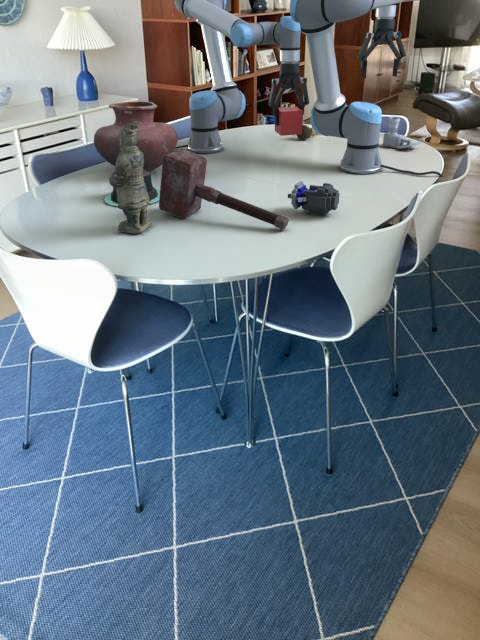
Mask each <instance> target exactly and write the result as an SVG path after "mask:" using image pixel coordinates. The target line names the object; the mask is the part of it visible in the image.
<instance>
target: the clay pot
mask: <svg viewBox="0 0 480 640" xmlns="http://www.w3.org/2000/svg"><path fill="white" fill-rule="evenodd" d="M157 107H158V105H157V104H155V103H154V102H152V101H145V100H141V101H140V100H138V101H120V102H113V103H109V104H108V108H110V109H112V110H113V113H114V116H115V119H114V122H113V124H110V125H105V126H101V127H98V128H97V130H96V131H95V132H94V135H93V145H94V148H95V149H96V152H97V153H98V154H99V155H100V156H101V157H102V158H103V159H104V160H105V161H106V162H107V163H108V164H110V165H111V166H113V167H115V164H116V160H117V156H118V154H119V151H120V147H119V140H118V138H119V133H120V130H121V129H123V128H124V127H125V126H126V125H127V124H128V123H131V122H133V121H137V122H138V123H139V127H138V130H137V131H136V138H137V143H136V146H137V147H138V149H139V150H141V151H142V153H143V156H144V166H143V169H144V170H146V171H147V172H151V171H153V170H157V169H158V168H160V167H161V166H163V158H164V156H165V155H167V154H170V153H172V152H174V151H175V150H176V149H175V147H177V145H178V141H179V140H178V139H179V138H178V133H177V131H176V129H175V128H174V127H173V125H171V124H169V123H166V122H156V121H155V122H154V114H155V110H156V109H157Z"/></svg>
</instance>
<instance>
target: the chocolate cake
mask: <svg viewBox="0 0 480 640" xmlns="http://www.w3.org/2000/svg"><path fill="white" fill-rule="evenodd" d="M113 175H114V171H112V173H111V176H113ZM143 178H144V182H145V184H146V188H147V192H148V195H149V197H150V204H154V203H157V202H159V198H160V188H156V187H154V185H153V182H152V174H151V172H150V171H148V172H147V171H146V170H144V169H143ZM103 200H104V202H105V203H106V204H108V205H109V206H115V207H118V202H117V192H116V189H115V188H114V187H112V191H111V193H108V194H107V195H106V196H104V198H103ZM150 204H149V205H150Z"/></svg>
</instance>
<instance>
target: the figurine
mask: <svg viewBox="0 0 480 640" xmlns="http://www.w3.org/2000/svg"><path fill="white" fill-rule="evenodd" d="M305 123H306V122H305V120H302V134H299V135H296V137H297V139H298V140H302V141H304V140H308V139H310V138H311V137H312V136H313V135H312V134H317V133H316V132H315V131H314V130H313V128H312V127H310V126H308V125H305Z"/></svg>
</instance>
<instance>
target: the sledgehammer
mask: <svg viewBox="0 0 480 640" xmlns="http://www.w3.org/2000/svg"><path fill="white" fill-rule="evenodd" d="M207 164H208V159H207V158H206V157H205V156H203V155H201V154H199V153H193V152H190V151H188V149H187V150H186V149H184V148H178V149H176V150H174V152H172V153H170V154H167V155H165V156H164V158H163V165H161V166H162V167H161V176H160V187H159V190H160V198H159V200H158V208H159V210H160V211H162V212H165V213H168V214H170V215H173V216H174V217H177V218H180V219H182V220H185V219H187V218H188V217H190V216H192V215H193V214H195V213H197V212H198V211H199V210H200V209H201V207H202V201H203V200H204V201H207V202H209V203H213V204H215V205H220V206H223V207H225V208H228V209H231V210H233V211H236V212H239V213H241V214H243V215H245V216H248V217H252V218H255V219H257V220H260V221H262V222H264V223H267V224H270V225H273V226H274V228H276V229H280V230H282V231H285V230H286V228H287V227H288V224H289V221H290V218H289V217H288V216H286V215H283V214H281V213H279V214H277V213H275V212H273V211H269V210H267V209H265V208H262V207H259V206H256V205H254V204H251V203H248V202H246V201H244V200H242V199H238V198H236V197H233V196H231V195H228V194H225V193H223V192H222V191H220V190H218V189H215V188H214V187H211V186H208V185H205V181H206V175H207Z"/></svg>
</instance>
